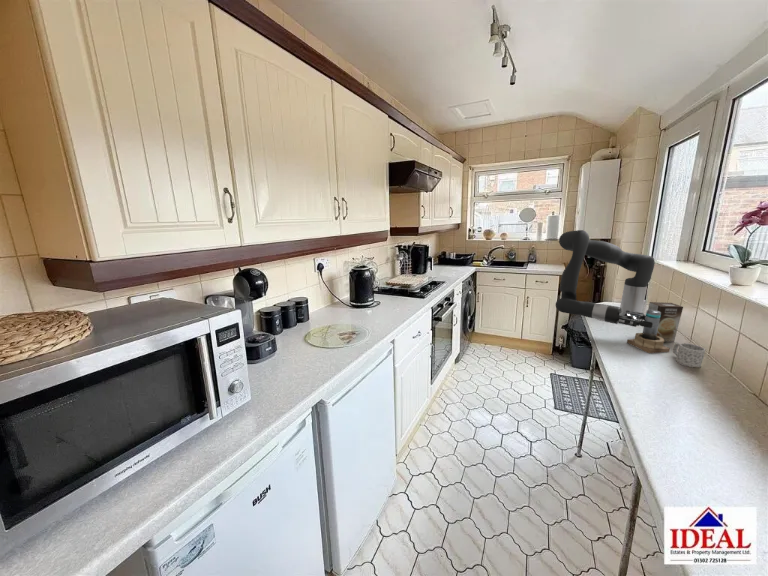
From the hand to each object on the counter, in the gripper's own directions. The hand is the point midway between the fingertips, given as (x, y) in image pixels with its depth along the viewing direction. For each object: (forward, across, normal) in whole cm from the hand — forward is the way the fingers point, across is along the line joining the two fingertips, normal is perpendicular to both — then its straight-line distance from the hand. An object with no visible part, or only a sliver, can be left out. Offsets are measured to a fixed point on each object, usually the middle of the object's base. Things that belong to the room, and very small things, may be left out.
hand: (654, 322), depth 122 cm
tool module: (-1, 0, +9) cm, 9 cm away
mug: (+11, -5, +11) cm, 17 cm away
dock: (0, 0, +11) cm, 11 cm away
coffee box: (+1, +14, +11) cm, 18 cm away
